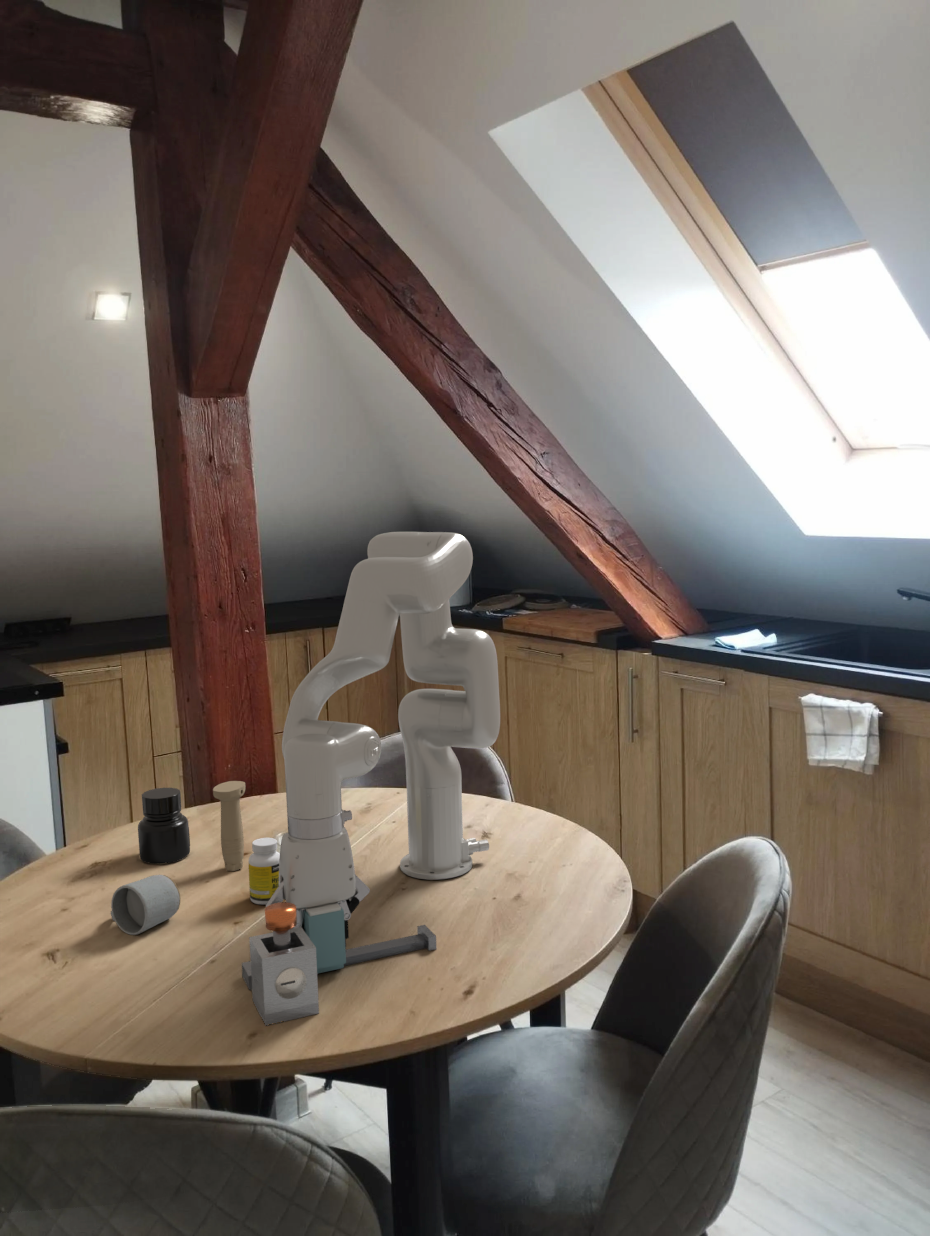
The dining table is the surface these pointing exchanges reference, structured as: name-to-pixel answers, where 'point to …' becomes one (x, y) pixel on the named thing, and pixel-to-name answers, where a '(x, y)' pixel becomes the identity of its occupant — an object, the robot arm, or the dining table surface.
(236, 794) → the handle
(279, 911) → the plunger
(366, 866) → the dining table surface
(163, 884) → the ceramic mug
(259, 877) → the supplement bottle
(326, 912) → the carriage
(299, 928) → the grey button box
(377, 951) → the rail
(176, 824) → the ink bottle
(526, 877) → the dining table surface
